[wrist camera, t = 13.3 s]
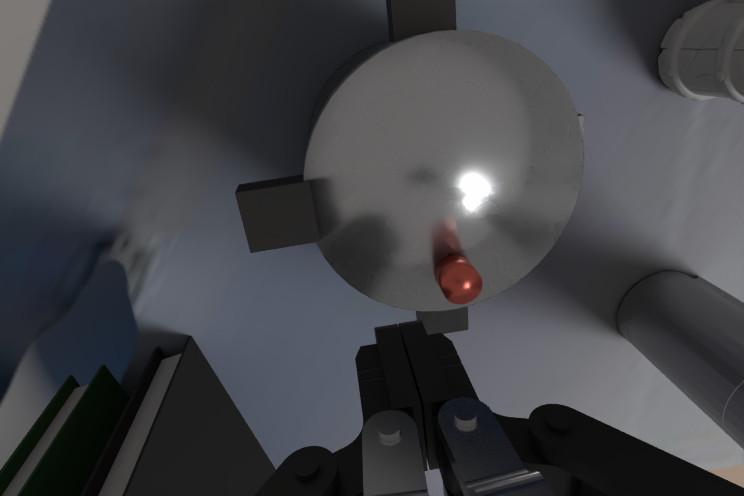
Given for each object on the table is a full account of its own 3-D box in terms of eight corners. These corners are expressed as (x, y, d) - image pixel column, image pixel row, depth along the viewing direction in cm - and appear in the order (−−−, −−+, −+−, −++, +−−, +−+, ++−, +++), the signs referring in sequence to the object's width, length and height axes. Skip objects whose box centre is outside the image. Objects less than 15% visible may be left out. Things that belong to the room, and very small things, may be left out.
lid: (578, 11, 25) (619, 6, 22) (562, 275, 32) (591, 302, 29) (208, 62, 24) (193, 65, 20) (276, 328, 30) (273, 362, 27)
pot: (511, -42, 34) (603, -80, 24) (509, 253, 45) (572, 321, 34) (280, -12, 33) (265, -38, 22) (333, 282, 44) (341, 362, 33)
